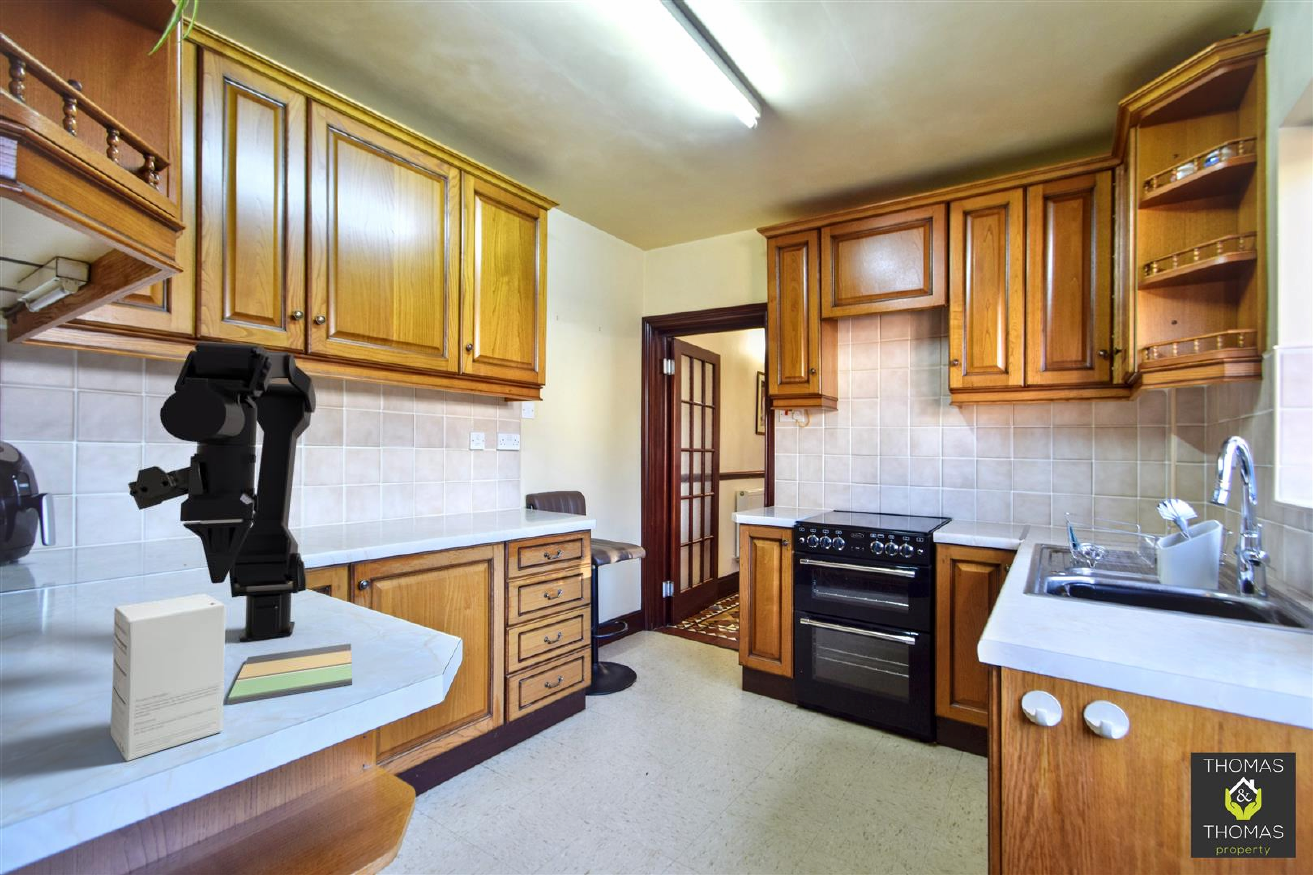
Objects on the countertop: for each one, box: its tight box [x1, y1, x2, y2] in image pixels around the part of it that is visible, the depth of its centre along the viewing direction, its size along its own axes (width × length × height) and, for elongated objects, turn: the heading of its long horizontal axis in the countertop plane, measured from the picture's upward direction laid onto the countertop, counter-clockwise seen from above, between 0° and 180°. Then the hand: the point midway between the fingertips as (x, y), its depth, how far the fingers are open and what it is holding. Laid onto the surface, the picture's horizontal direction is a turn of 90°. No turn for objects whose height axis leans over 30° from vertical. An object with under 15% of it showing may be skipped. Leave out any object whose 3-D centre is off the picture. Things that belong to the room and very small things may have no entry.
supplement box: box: [110, 593, 227, 762], centre depth 56 cm, size 7×7×13 cm
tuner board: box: [227, 643, 353, 706], centre depth 72 cm, size 15×12×1 cm
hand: (221, 576), depth 68 cm, fingers open, 9 cm apart
